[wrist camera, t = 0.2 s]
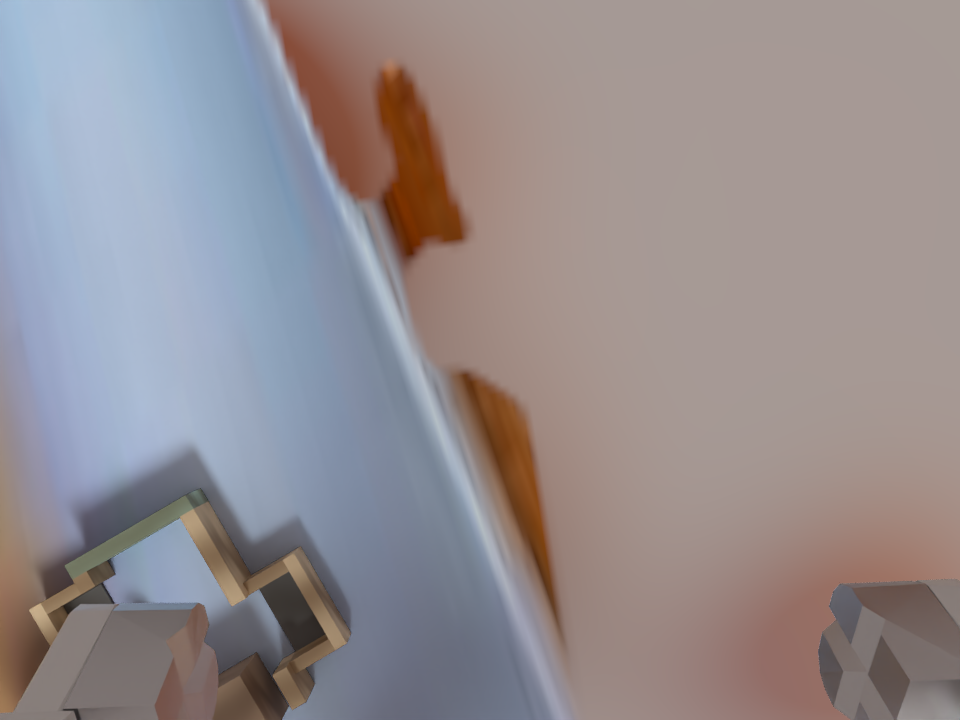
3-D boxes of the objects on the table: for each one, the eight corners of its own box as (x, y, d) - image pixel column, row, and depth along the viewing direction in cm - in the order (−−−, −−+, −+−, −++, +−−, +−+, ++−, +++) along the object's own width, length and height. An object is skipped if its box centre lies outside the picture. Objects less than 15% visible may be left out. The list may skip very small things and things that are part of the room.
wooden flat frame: (363, 654, 64) (358, 671, 60) (151, 780, 63) (132, 804, 60) (249, 459, 64) (237, 464, 60) (36, 584, 63) (11, 596, 60)
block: (288, 706, 64) (273, 734, 59) (234, 738, 64) (214, 769, 59) (257, 651, 64) (239, 675, 59) (202, 684, 64) (179, 710, 59)
